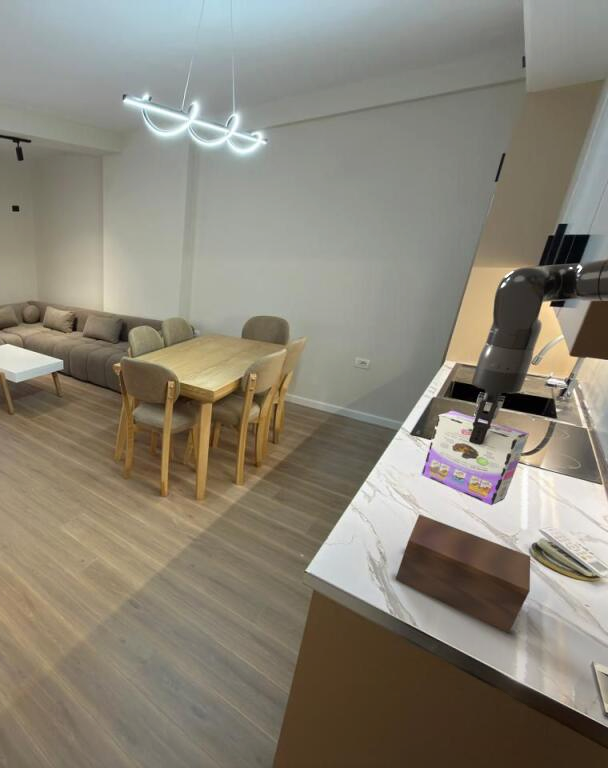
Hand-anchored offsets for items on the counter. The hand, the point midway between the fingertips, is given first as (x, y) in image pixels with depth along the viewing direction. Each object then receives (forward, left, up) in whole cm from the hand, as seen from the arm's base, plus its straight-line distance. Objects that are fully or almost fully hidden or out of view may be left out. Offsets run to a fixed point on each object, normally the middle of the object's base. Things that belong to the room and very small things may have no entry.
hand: (477, 437), depth 87 cm
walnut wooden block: (-4, +14, -30) cm, 34 cm away
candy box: (0, 0, -13) cm, 13 cm away
